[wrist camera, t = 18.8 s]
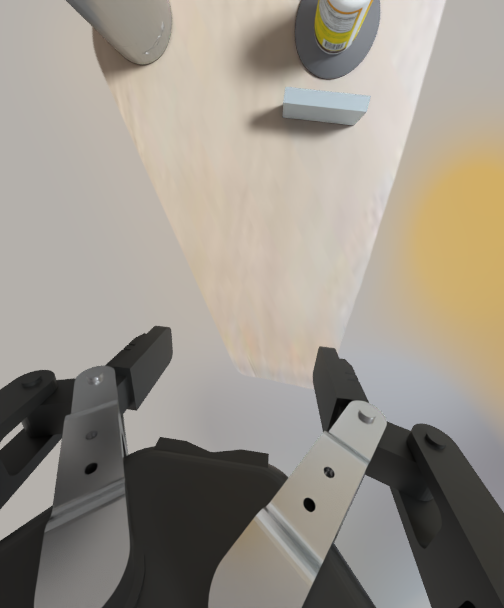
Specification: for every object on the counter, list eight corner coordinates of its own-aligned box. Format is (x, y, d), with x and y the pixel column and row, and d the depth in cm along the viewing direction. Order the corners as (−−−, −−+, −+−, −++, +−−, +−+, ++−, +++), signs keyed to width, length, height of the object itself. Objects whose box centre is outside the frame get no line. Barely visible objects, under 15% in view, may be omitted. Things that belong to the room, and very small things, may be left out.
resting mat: (278, 24, 29) (279, 22, 29) (350, -62, 26) (351, -65, 26) (324, 98, 31) (324, 97, 31) (394, 28, 28) (396, 27, 28)
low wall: (282, 117, 33) (283, 102, 28) (284, 103, 32) (285, 86, 27) (353, 125, 32) (366, 111, 28) (357, 112, 32) (370, 96, 27)
